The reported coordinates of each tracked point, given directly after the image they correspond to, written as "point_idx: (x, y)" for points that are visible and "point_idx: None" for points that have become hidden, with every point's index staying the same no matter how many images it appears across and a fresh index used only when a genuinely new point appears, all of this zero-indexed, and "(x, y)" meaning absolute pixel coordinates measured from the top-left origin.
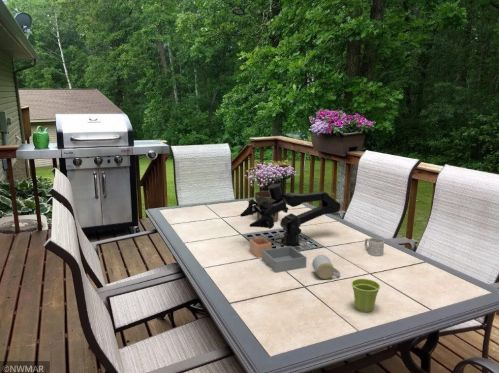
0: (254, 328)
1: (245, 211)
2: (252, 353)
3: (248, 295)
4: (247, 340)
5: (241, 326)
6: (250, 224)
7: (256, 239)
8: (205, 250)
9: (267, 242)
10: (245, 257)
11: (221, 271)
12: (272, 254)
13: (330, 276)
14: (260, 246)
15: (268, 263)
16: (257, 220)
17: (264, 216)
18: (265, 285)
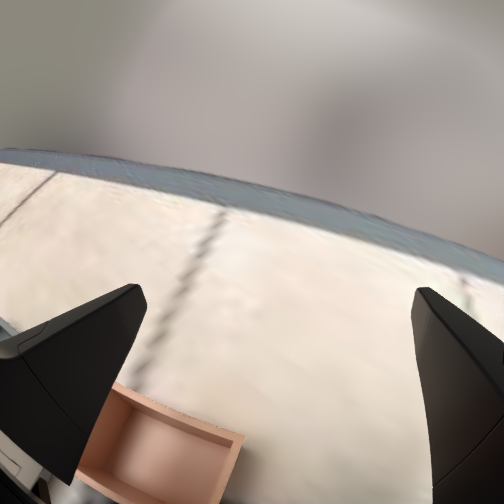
0: (7, 168)
1: (461, 340)
2: (4, 153)
3: (33, 200)
4: (12, 156)
5: (23, 161)
6: (128, 286)
7: (217, 483)
8: (372, 285)
9: (108, 487)
10: (181, 364)
11: (159, 223)
12: None
13: None
14: None
15: None
16: (46, 336)
17: (4, 501)
18: (10, 247)
